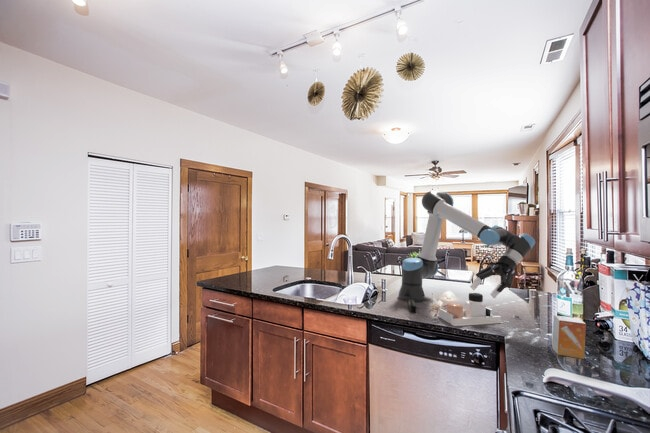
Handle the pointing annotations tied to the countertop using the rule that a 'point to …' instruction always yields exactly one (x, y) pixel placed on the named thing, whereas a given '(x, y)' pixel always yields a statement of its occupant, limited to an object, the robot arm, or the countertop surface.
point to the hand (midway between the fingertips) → (481, 292)
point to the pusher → (489, 312)
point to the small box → (569, 336)
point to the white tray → (467, 319)
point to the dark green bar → (411, 306)
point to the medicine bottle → (475, 306)
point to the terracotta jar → (455, 310)
